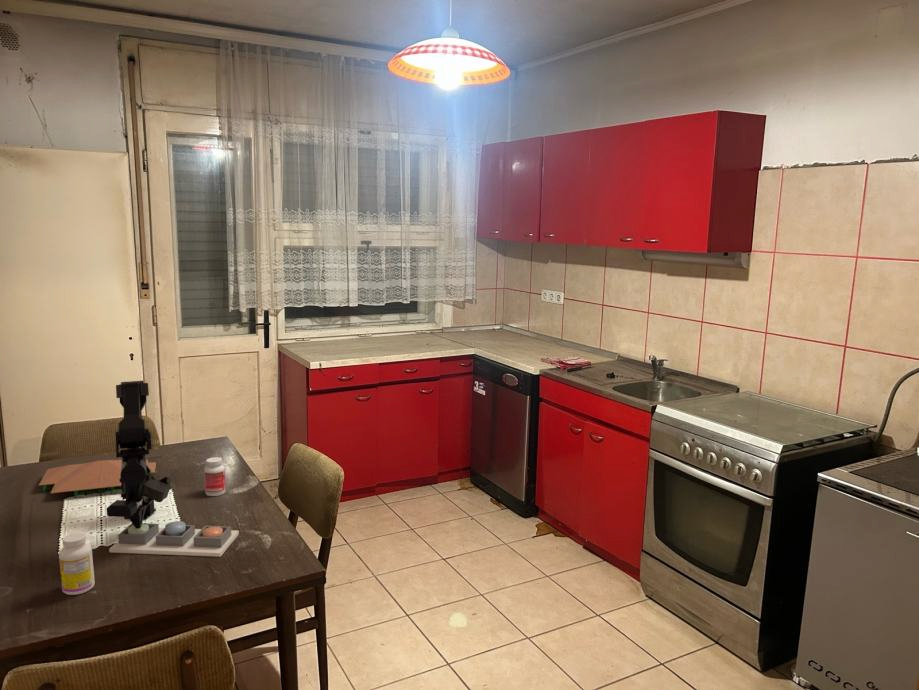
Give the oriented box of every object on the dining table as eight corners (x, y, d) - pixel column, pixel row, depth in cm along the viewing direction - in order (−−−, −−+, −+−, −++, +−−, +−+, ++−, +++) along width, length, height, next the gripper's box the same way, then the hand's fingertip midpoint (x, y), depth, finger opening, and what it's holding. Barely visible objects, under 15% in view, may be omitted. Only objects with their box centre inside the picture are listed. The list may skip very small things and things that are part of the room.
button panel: (109, 552, 175) (108, 539, 175) (135, 530, 188) (134, 518, 187) (220, 556, 174) (219, 544, 174) (238, 534, 187) (238, 522, 186)
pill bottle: (228, 494, 214) (226, 460, 212) (208, 498, 210) (206, 464, 209) (222, 487, 219) (221, 455, 217) (203, 491, 216) (201, 458, 214)
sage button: (124, 540, 179) (124, 531, 178) (134, 531, 184) (134, 523, 183) (143, 541, 179) (143, 532, 178) (152, 532, 184) (152, 524, 183)
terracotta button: (199, 543, 178) (199, 534, 178) (207, 534, 183) (207, 526, 183) (218, 543, 178) (218, 535, 178) (225, 535, 183) (225, 526, 182)
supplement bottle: (70, 581, 161) (66, 530, 159) (99, 580, 162) (95, 530, 159) (56, 596, 154) (51, 543, 152) (87, 595, 155) (82, 543, 153)
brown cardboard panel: (154, 491, 216) (153, 467, 214) (34, 505, 204) (31, 479, 202) (157, 467, 237) (156, 445, 235) (48, 478, 225) (46, 455, 223)
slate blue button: (162, 537, 178) (161, 529, 178) (170, 529, 183) (170, 520, 183) (180, 538, 178) (180, 529, 178) (189, 529, 183) (188, 521, 183)
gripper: (147, 486, 169) (151, 545, 171) (180, 460, 187) (183, 514, 190) (103, 485, 169) (107, 543, 172) (141, 459, 187) (144, 512, 190)
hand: (138, 527), depth 181 cm, fingers closed, pressing on sage button
